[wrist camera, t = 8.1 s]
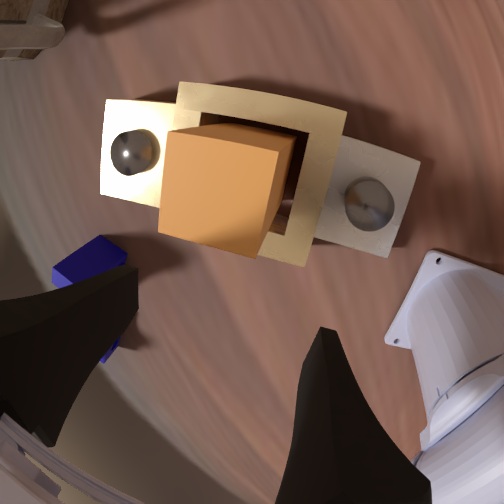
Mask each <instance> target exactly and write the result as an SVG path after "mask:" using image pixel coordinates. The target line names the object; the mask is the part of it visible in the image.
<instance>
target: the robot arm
mask: <svg viewBox="0 0 504 504" xmlns="http://www.w3.org/2000/svg"><path fill="white" fill-rule="evenodd" d="M438 258H441V260H440V261H439V262H436V260H437V259H438ZM138 309H139V305H138V269H137V268H135V267H132V266H129V265H126V264H125V265H121V266H118V267H115V268H113V269H110V270H107V271H105V272H102V273H100V274H97V275H95V276H92V277H90V278H87V279H84V280H82V281H79V282H76V283H73V284H71V285H68V286H65V287H62V288H59V289H56V290H53V291H49V292H46V293H42V294H38V295H33V296H28V297H23V298H17V299H10V300H1V301H0V504H65V503H63V502H62V501H60V500H59V499H58V498H57V496H58V494H59V493H60V491H61V487H60V486H59V485H58V484H56V483H55V482H54V481H52V480H51V479H50V478H49V477H48V476H47V475H45V474H44V473H43V472H42V471H41V470H40V469H39V468H38V467H37V466H36V465H35V464H33V463H32V462H31V461H30V460H29V459H27V458H26V457H25V453H24V451H25V452H26V453H27V454H28V455H30V456H31V457H32V458H33V459H35V460H36V461H37V462H38V463H40V464H41V465H43V466H44V467H45V468H47V469H48V470H49V471H51V472H52V473H54V474H55V475H57V476H58V477H59V478H61V479H62V480H64V481H65V482H67V483H68V484H70V485H71V486H73V487H74V488H76V489H78V490H79V491H81V492H83V493H84V494H86V495H88V496H89V497H91V498H93V499H94V500H96V501H98V502H100V503H102V504H146V503H143V502H141V501H139V500H137V499H135V498H132V497H130V496H128V495H126V494H124V493H122V492H120V491H118V490H116V489H114V488H112V487H110V486H109V485H107V484H105V483H103V482H101V481H99V480H98V479H96V478H94V477H92V476H91V475H89V474H87V473H86V472H84V471H82V470H81V469H79V468H77V467H76V466H74V465H73V464H71V463H69V462H68V461H67V460H65V459H63V458H62V457H60V456H59V455H58V454H56V453H55V452H53V451H52V450H51V449H49V448H48V447H54V446H55V444H56V441H57V438H58V436H59V433H60V431H61V429H62V426H63V424H64V421H65V419H66V417H67V415H68V413H69V411H70V409H71V407H72V404H73V403H74V401H75V399H76V397H77V395H78V393H79V392H80V390H81V388H82V386H83V385H84V383H85V381H86V380H87V378H88V376H89V375H90V373H91V372H92V370H93V369H94V368H95V366H96V365H97V363H98V362H99V361H100V360H101V359H102V357H103V356H104V355H105V354H106V353H107V351H108V350H109V349H110V348H111V346H112V345H113V344H114V343H115V342H116V340H117V339H118V338H119V337H120V336H121V334H122V333H123V332H124V331H125V329H126V328H127V327H128V325H129V324H130V322H131V321H132V319H133V317H134V316H135V314H136V312H137V311H138ZM384 339H385V343H386V344H389V345H393V346H398V347H403V348H408V349H412V352H413V356H414V360H415V364H416V368H417V372H418V377H419V381H420V385H421V390H422V395H423V400H424V405H425V410H426V416H427V421H428V424H427V427H426V428H425V429H424V430H423V431H422V432H421V433H420V441H421V449H422V450H421V451H420V452H418V453H417V454H416V455H415V456H414V457H413V458H412V459H411V461H409V460H408V459H407V457H406V456H405V455H404V454H403V453H402V452H401V451H400V450H399V448H398V447H397V446H396V445H395V443H394V442H393V441H392V440H391V438H390V437H389V435H388V434H387V433H386V431H385V430H384V429H383V427H382V426H381V424H380V423H379V421H378V420H377V418H376V417H375V415H374V413H373V412H372V410H371V408H370V407H369V405H368V403H367V401H366V400H365V398H364V396H363V394H362V392H361V390H360V388H359V386H358V383H357V381H356V379H355V377H354V374H353V372H352V370H351V367H350V365H349V363H348V360H347V358H346V355H345V352H344V350H343V347H342V344H341V342H340V339H339V336H338V334H337V332H336V331H335V330H331V329H328V328H324V327H320V328H319V331H318V333H317V335H316V337H315V339H314V341H313V343H312V346H311V348H310V350H309V352H308V354H307V356H306V358H305V360H304V362H303V365H302V370H301V374H300V379H299V384H298V391H297V400H296V410H295V420H294V429H293V437H292V443H291V448H290V452H289V456H288V460H287V464H286V468H285V472H284V475H283V479H282V482H281V486H280V489H279V492H278V495H277V498H276V501H275V504H504V275H502V274H499V273H496V272H494V271H491V270H489V269H486V268H483V267H481V266H478V265H475V264H472V263H470V262H467V261H464V260H461V259H459V258H456V257H453V256H450V255H447V254H444V253H441V252H439V251H436V250H430V251H429V252H427V254H426V256H425V258H424V260H423V262H422V265H421V267H420V269H419V271H418V273H417V275H416V277H415V280H414V282H413V284H412V286H411V288H410V290H409V292H408V294H407V296H406V298H405V300H404V302H403V304H402V306H401V307H400V309H399V311H398V313H397V315H396V317H395V319H394V321H393V322H392V324H391V326H390V328H389V330H388V331H387V333H386V335H385V337H384ZM395 339H398V340H395Z"/></svg>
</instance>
